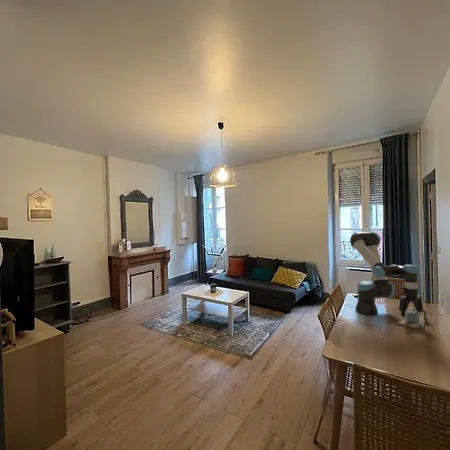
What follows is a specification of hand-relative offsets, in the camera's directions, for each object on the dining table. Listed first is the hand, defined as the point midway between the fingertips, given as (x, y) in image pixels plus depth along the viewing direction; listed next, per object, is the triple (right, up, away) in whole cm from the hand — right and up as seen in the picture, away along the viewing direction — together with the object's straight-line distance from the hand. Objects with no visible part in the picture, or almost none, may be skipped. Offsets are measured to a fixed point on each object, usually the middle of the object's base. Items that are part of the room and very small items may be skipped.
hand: (411, 321), depth 170 cm
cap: (0, +1, 0) cm, 1 cm away
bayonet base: (+5, -2, +6) cm, 9 cm away
